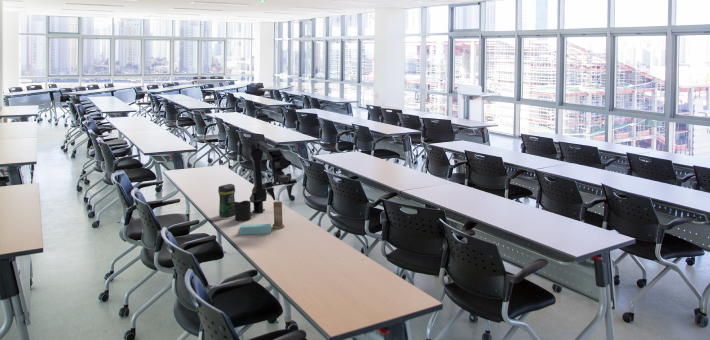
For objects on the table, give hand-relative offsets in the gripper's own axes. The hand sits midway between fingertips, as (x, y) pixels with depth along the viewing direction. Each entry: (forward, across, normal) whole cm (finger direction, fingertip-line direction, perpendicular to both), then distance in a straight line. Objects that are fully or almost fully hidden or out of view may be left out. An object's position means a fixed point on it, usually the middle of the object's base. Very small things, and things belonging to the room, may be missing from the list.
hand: (282, 199), depth 299 cm
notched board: (+14, -16, +5) cm, 22 cm away
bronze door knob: (+15, -4, +4) cm, 16 cm away
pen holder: (+7, -14, +27) cm, 31 cm away
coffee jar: (+3, -18, +39) cm, 43 cm away
